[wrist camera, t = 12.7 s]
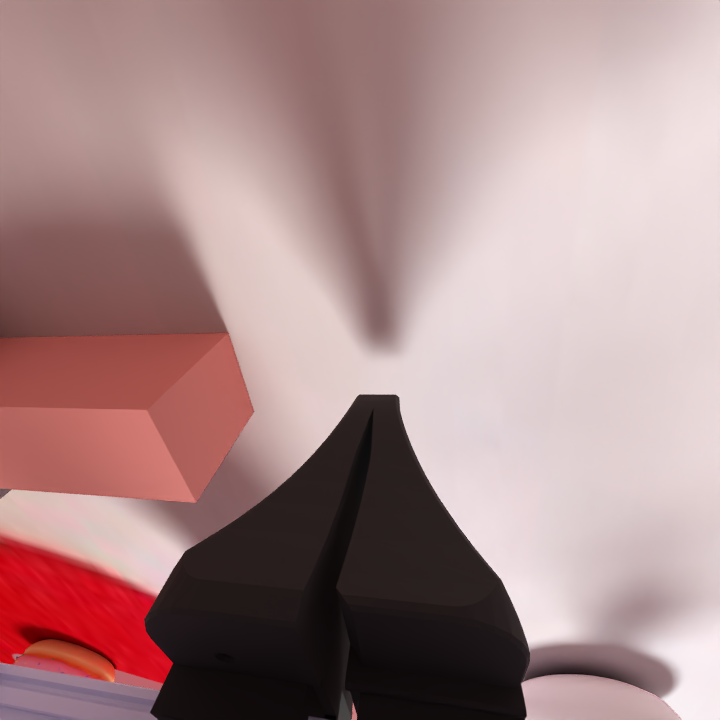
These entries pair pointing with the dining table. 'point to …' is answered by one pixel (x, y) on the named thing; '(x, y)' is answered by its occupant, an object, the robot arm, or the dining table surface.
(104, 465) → the pink long block
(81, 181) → the dining table surface
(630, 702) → the flower in vase
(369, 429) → the robot arm
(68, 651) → the doughnut
